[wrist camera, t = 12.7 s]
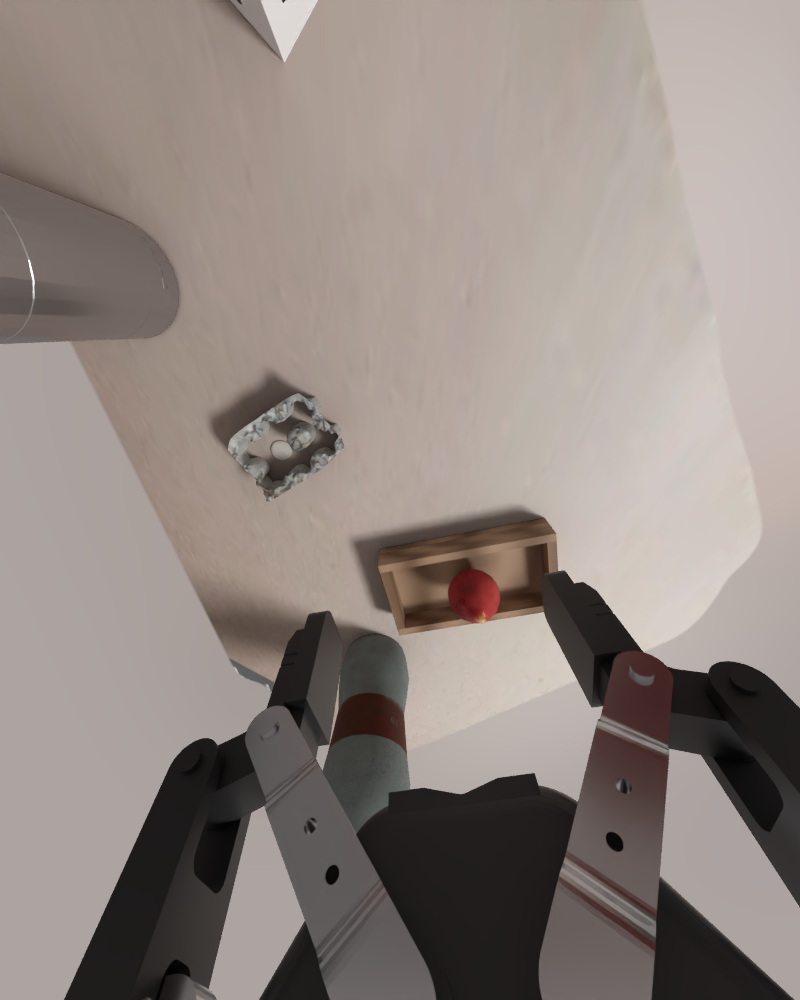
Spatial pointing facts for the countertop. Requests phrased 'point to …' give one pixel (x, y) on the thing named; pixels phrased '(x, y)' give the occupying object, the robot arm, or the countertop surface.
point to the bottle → (369, 729)
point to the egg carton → (284, 446)
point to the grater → (277, 21)
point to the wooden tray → (434, 563)
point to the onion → (474, 596)
